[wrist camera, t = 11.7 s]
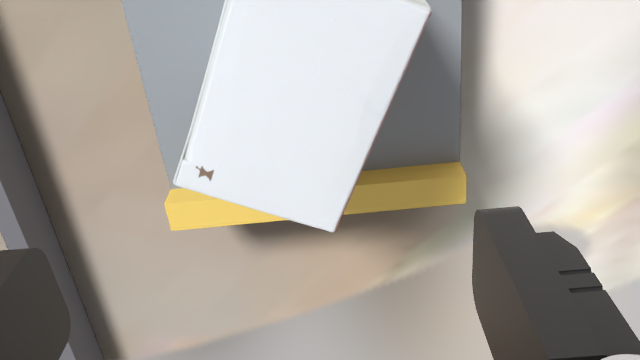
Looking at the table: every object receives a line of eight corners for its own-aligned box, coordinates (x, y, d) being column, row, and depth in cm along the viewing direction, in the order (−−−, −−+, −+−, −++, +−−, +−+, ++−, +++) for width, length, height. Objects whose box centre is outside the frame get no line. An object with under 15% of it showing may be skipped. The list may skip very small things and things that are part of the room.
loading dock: (107, -172, 26) (59, -181, 21) (443, -215, 25) (473, -234, 20) (191, 179, 34) (171, 230, 30) (444, 155, 34) (466, 203, 29)
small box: (328, 119, 28) (334, 242, 19) (218, 82, 27) (168, 191, 18) (394, -45, 25) (440, 9, 16) (269, -94, 24) (239, -69, 15)
